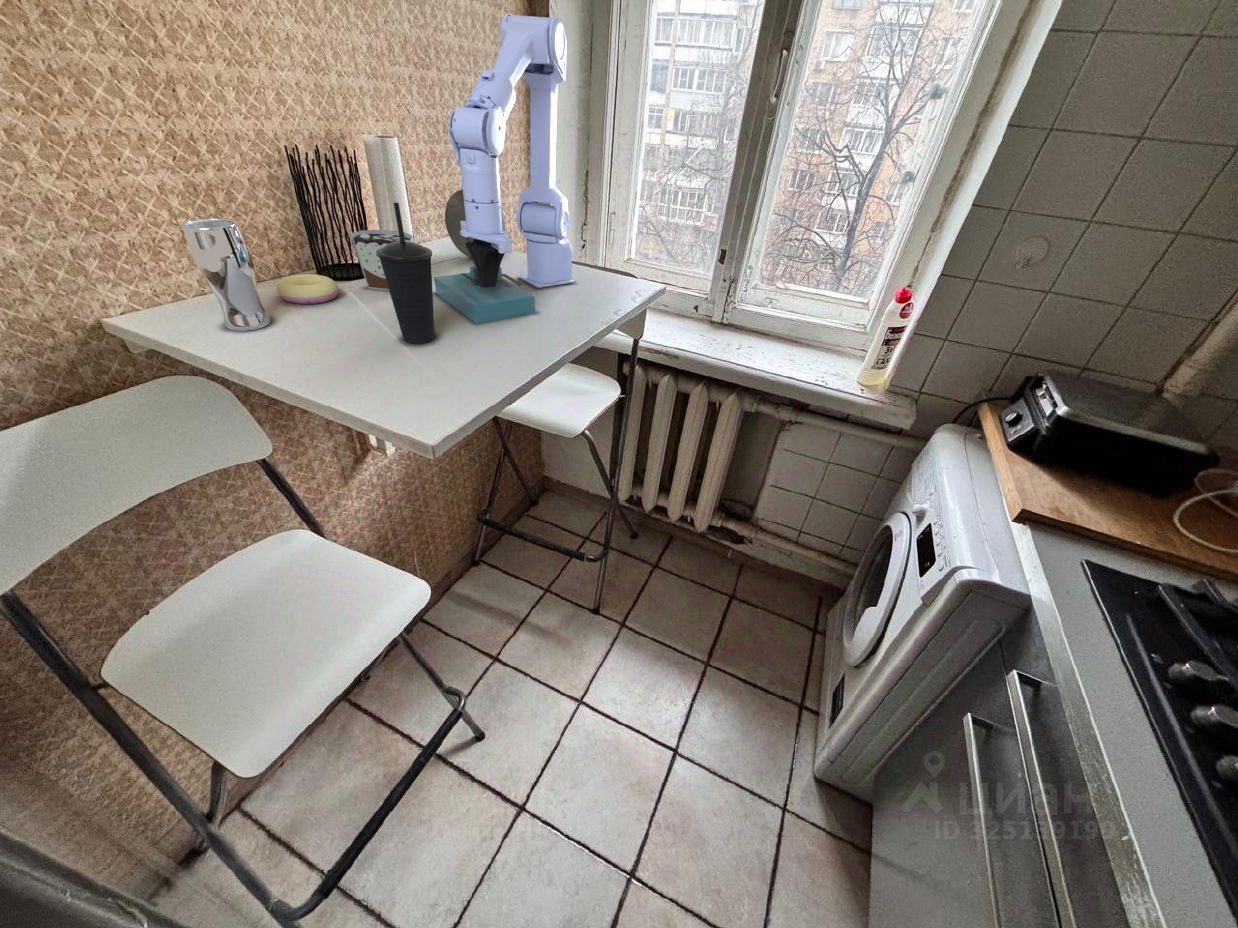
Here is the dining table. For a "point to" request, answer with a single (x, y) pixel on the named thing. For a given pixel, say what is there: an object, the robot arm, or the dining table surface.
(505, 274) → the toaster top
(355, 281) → the dining table surface
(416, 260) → the drinking cup
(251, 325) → the chrome curved vase
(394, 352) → the dining table surface
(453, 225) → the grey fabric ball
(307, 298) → the donut
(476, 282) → the slider
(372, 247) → the food container
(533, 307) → the teal control box
